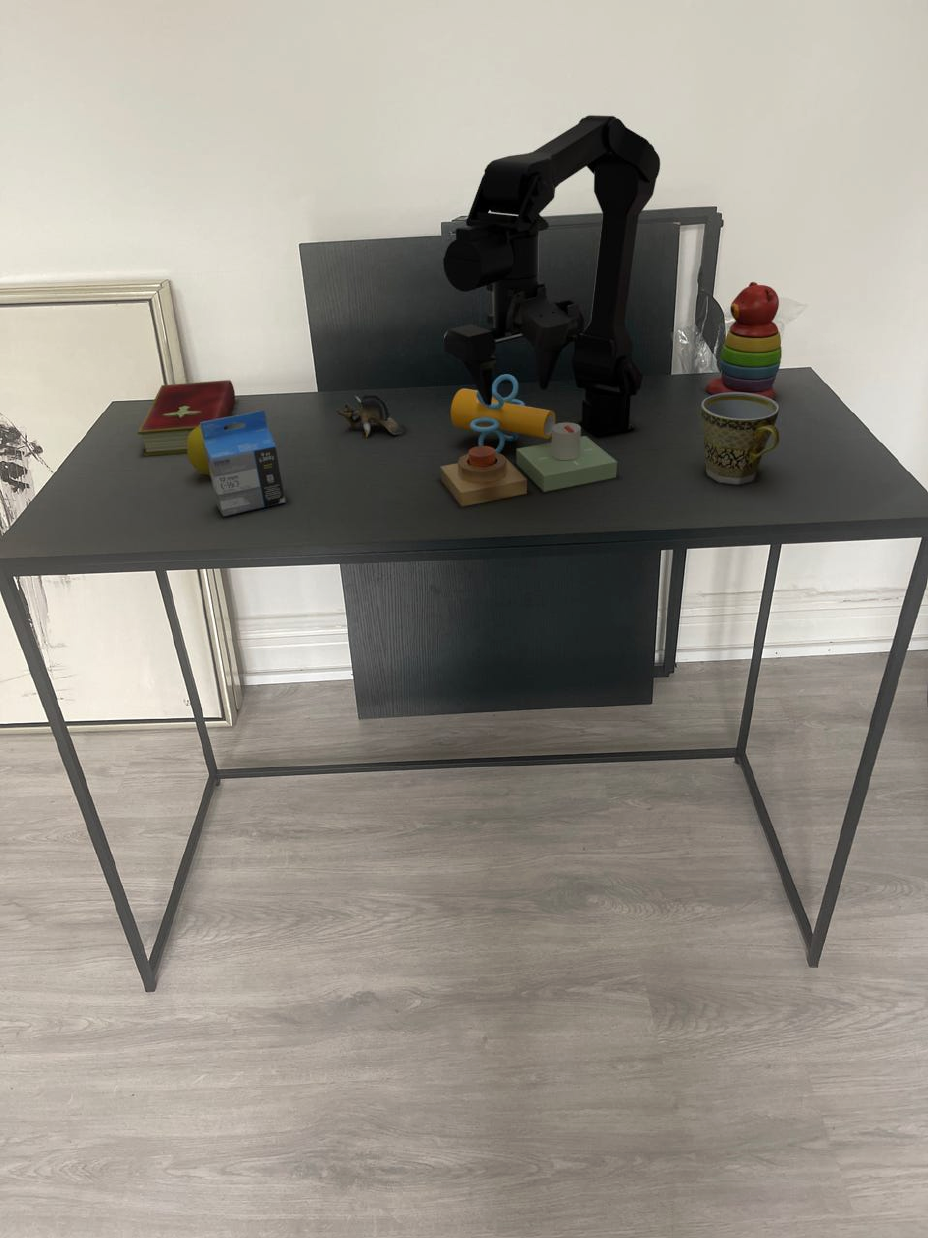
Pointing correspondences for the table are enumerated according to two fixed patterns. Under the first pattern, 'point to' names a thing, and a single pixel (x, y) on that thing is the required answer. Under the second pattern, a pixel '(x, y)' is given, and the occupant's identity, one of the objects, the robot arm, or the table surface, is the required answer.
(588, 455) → the dial panel
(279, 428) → the table surface
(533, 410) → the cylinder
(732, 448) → the ceramic cup
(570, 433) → the dial
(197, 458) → the lemon
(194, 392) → the hardcover book
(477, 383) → the robot arm
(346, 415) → the animal figurine
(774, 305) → the stacking bear
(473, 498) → the button block
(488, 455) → the top button
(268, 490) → the label tape box
